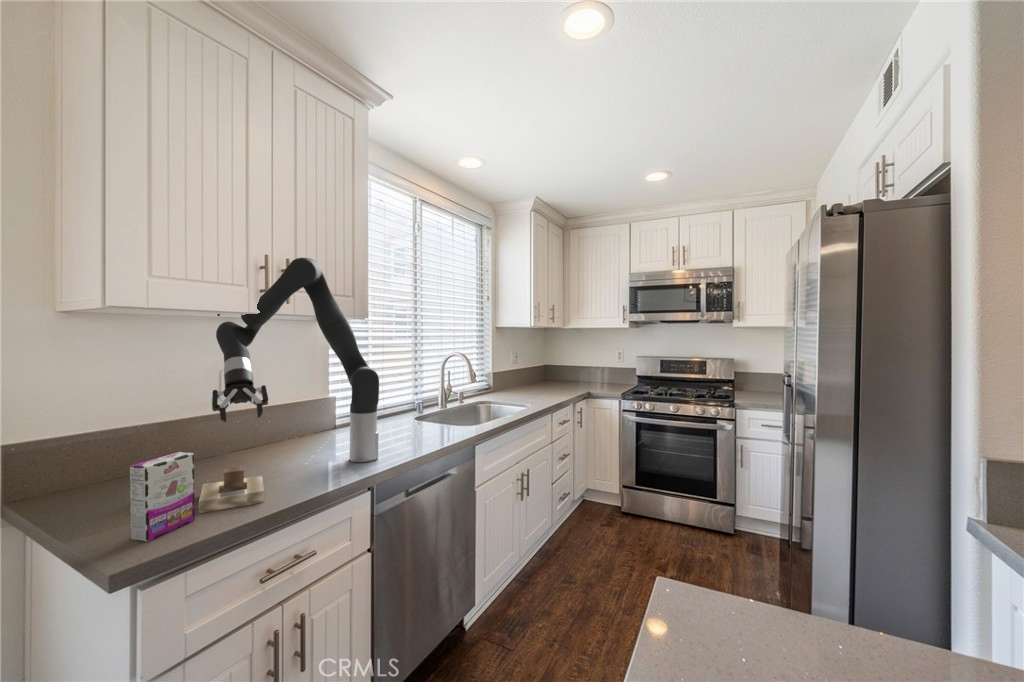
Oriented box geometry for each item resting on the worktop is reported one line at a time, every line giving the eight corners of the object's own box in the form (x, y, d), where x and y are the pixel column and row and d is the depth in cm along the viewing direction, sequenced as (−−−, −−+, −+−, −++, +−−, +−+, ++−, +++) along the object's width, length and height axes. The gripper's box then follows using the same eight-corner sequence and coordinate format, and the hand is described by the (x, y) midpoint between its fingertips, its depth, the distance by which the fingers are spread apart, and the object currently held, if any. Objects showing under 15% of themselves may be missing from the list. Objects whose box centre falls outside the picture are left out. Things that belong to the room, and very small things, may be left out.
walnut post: (243, 494, 118) (243, 465, 118) (243, 499, 115) (243, 470, 114) (224, 497, 116) (224, 468, 116) (223, 502, 112) (224, 472, 112)
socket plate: (261, 485, 125) (261, 475, 125) (263, 502, 113) (264, 490, 113) (203, 494, 117) (203, 483, 117) (198, 513, 105) (198, 500, 105)
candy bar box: (178, 518, 102) (178, 451, 102) (195, 520, 101) (195, 452, 101) (127, 540, 91) (128, 464, 91) (146, 543, 90) (147, 466, 90)
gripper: (210, 369, 127) (212, 415, 119) (264, 365, 135) (270, 408, 127) (211, 383, 132) (213, 429, 123) (264, 379, 140) (269, 421, 132)
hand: (242, 418), depth 125 cm, fingers open, 8 cm apart
